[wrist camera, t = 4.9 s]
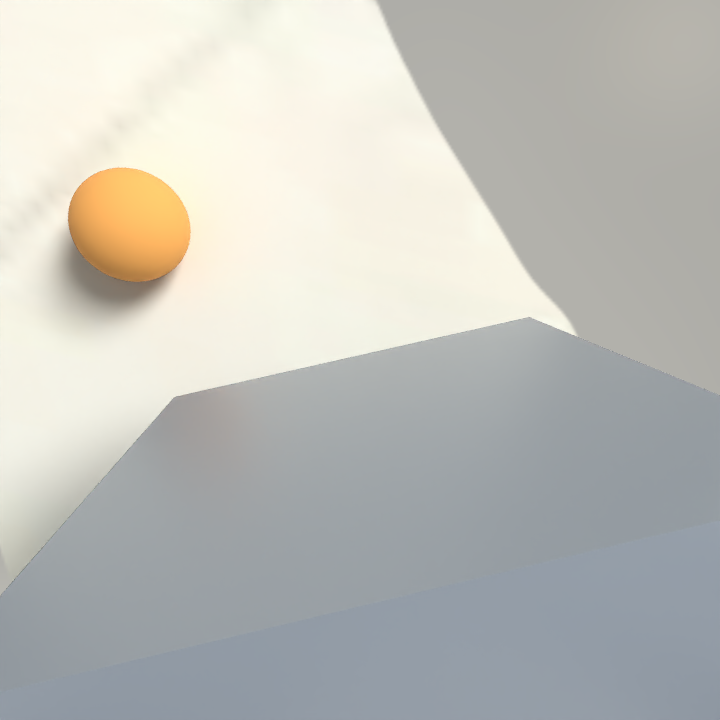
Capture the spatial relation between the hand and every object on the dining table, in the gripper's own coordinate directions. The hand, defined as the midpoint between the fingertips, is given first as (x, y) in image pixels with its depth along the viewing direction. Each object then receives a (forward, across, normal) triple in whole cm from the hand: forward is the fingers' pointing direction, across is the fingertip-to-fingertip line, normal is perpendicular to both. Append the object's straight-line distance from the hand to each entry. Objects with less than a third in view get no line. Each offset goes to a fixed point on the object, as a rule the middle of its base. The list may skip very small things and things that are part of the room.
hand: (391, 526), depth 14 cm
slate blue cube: (+1, 0, 0) cm, 1 cm away
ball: (+11, +8, -11) cm, 18 cm away
